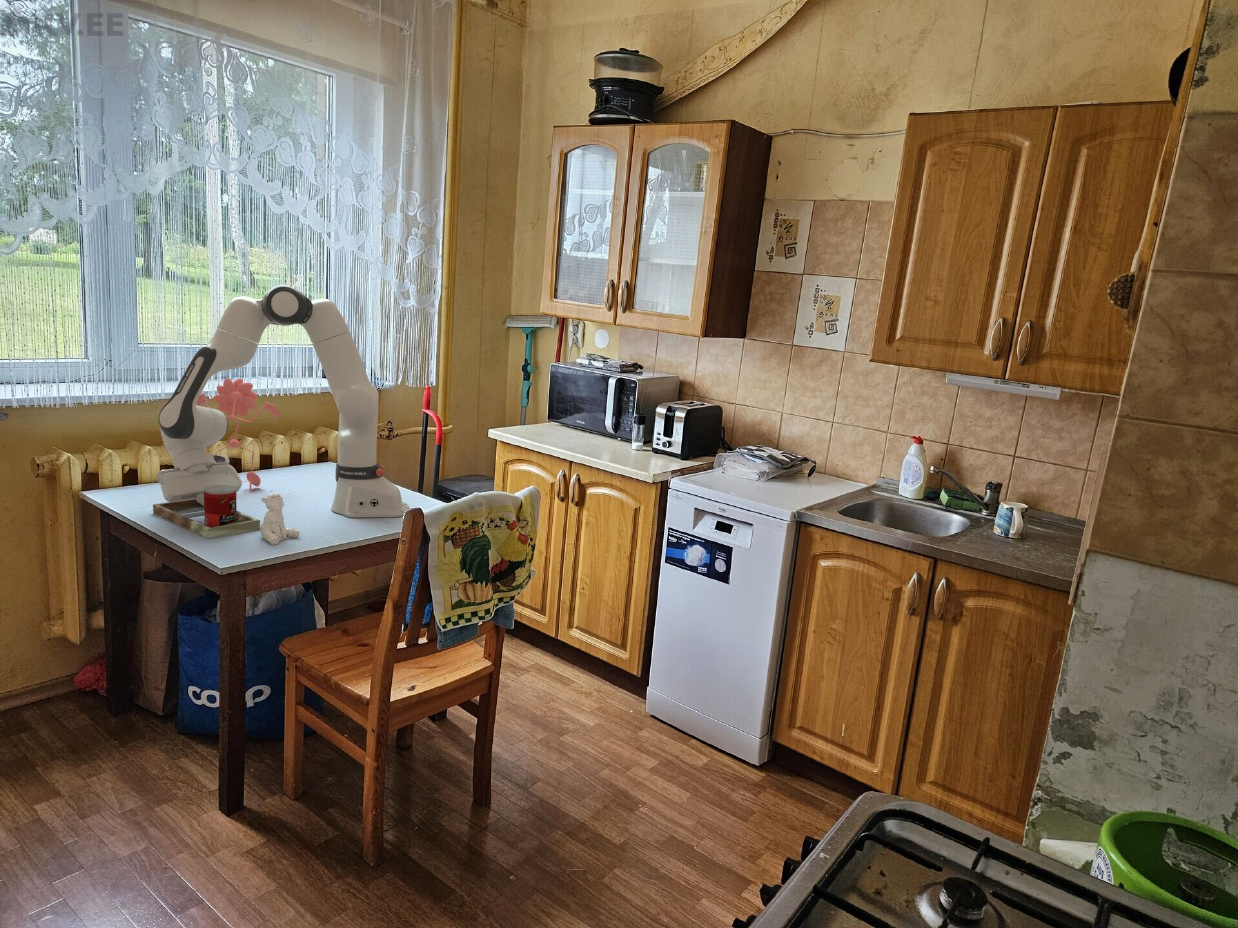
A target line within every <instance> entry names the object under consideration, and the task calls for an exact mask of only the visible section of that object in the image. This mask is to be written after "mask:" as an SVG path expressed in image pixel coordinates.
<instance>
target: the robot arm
mask: <svg viewBox="0 0 1238 928" xmlns="http://www.w3.org/2000/svg"><path fill="white" fill-rule="evenodd" d="M270 325H274V326H275V325H277V326H282V327H289V326H293V325H300V326H302V328H304V329H305V331H306V333H307V335H308V338H309V339H310V342H311V345H312V346H313V349H314V351H315V354H316V356H317V358H318V360H319V362H320V365H321V367H322V370H323V372H324V375H325V378H326V381H327V384H328V386H329V389H330V392H331V395H332V397H333V400H334V402H335V404H336V408H337V409H338V412H339V416H338V417H339V420H338V432H337V433H338V434H337V463H336V464H335V476H334V477H335V481H336V485H335V486H336V487H335V493H334V497H333V501H332V505H331V508H330V509H331V511H332V512H334V513H336V514H340V515H343V516H345V517H347V518H398V517H399V518H400V517H403V516H404V515H403V514H404V513H405V511H407V510H408V509H409V510H410V507H409V504H408V503H406V502H404V501H402V499H403V498H402V494H401V491H400V489H399V488H398V486H396V485H395V484H393V483H392V482H391V481H390V480H389V479H387V478H386V477H384V476H383V475H384V466H383V464H381V465H380V464H378V463H377V451H378V450H377V447H378V446H377V445H378V444H377V443H378V441H377V440H378V425H379V424H378V420H379V418H378V417H379V392H378V389H377V387H376V386H375V385H374V384H373V383H372V382H371V381H370V379H369V377H368V374H367V371H366V369H365V365H364V363H363V360H362V356H361V354H360V351H359V350H358V347H357V345H356V343H355V342H356V341H355V340H354V338H353V335H352V333H351V331H350V328H349V326H348V325H347V322H346V320H345V319H344V316H343V315H342V312H340V310H339V308H338V307H337V306H336V304H335V303H334V301H332V300H331V299H328V298H316V299H312V300H311V299H310V298H309V297H307V296H305V295H304V294H303V293H302V292H301V291H300V290H299V289H297V288H296V287H293V286H292V285H290V284H289V285H288V284H277V285H275V286H273V287H270V288H269V289H268V290H267V291H266V292H265V294H264V296H262V297H261V298H260V299H259V298H258V299H254V298H252V297H249V296H236V297H234V298H233V299H232V300H231V301H230V302H229V304H228V305H227V307H226V308H225V310H224V312H223V315H222V316H221V317H220V320H219V322H218V326H217V327H216V328H217V329H216V330H215V333H214V334H213V335H212V336H213V337H212V338H211V339H210V341H209V342H207V344H206V345H205V346H203V347H201V348H200V349H198V350H197V352H196V353H195V354H194V355H193V358H192V359H191V360H190V362H189V364H188V366H187V368H186V370H185V371H184V373H183V375H182V376H181V379H180V381H179V383H178V384H177V386H176V388H175V390H174V392H173V393H172V395H171V397H170V398H169V400H167V402H166V403H165V404H164V405H163V407H162V408H161V410H160V412H159V414H158V424H159V428H160V434H161V439H162V441H163V444H164V446H165V449H166V451H167V452H168V453H169V454H170V457H171V462H172V465H173V466H174V468H169V469H161V470H160V471H158V472H157V473H156V479H157V482H158V483H159V484H160V488H161V493H162V495H163V499H164V500H165V501H166V502H174V501H181V500H188V499H195V498H196V500H197V502H199V503H200V504H201V505H203V506H204V488H206V487H208V486H213V485H229V486H233V487H235V488H236V493H238V492H239V491H240V489H241V487H242V485H243V482H242V481H243V480H241V477H240V475H239V473H238V472H237V470H236V469H235V468H234V466H232V465H231V464H230V458H229V457H228V456H225V455H219V454H217V455H215V453H214V454H213V453H210V452H207V450H206V449H207V448H209V447H210V446H211V447H212V446H214V445H216V444H217V443H218V442H220V441H221V440H222V439H223V438H224V437H225V436H226V435H227V433H228V430H229V420H228V418H226V416H227V415H226V414H225V412H223V411H220V410H218V409H217V408H212V407H209V408H208V407H207V406H202V405H200V406H198V405H196V402H197V400H198V398H199V396H200V394H203V390H204V389H205V387H206V385H207V383H208V381H209V380H210V379H211V377H212V376H214V375H215V374H217V373H220V372H222V371H223V372H224V371H227V370H235V369H239V368H242V367H245V366H246V365H248V364H250V363H251V361H252V359H253V358H254V356H255V355H256V353H257V349H258V347H259V344H260V343H261V342H260V341H261V338H262V336H263V333H264V332H265V330H266V328H267V327H268V326H270Z"/></svg>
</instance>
